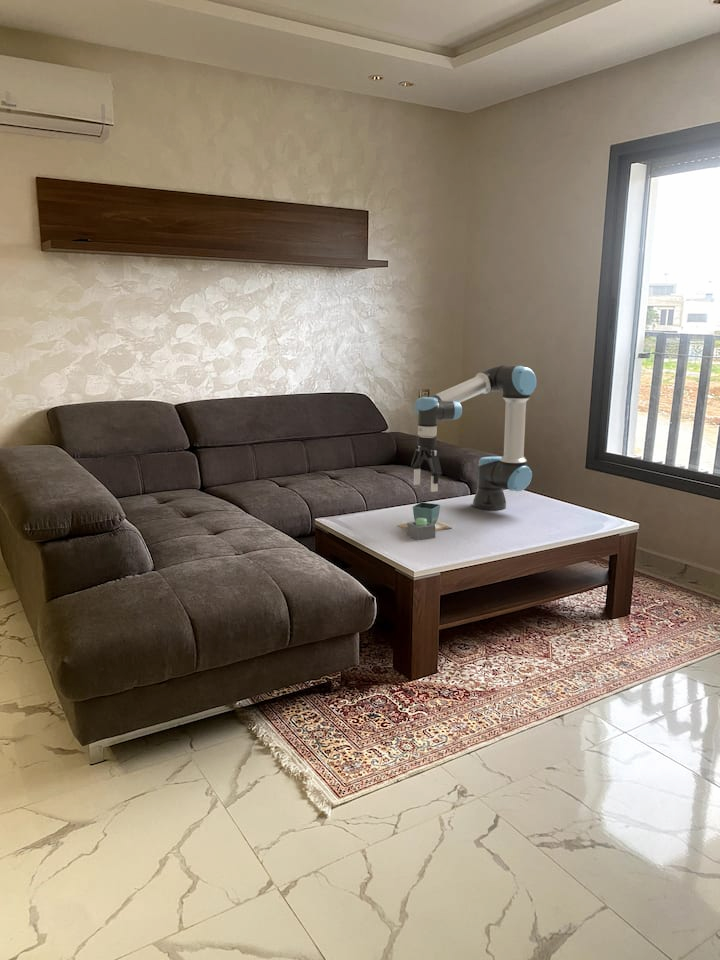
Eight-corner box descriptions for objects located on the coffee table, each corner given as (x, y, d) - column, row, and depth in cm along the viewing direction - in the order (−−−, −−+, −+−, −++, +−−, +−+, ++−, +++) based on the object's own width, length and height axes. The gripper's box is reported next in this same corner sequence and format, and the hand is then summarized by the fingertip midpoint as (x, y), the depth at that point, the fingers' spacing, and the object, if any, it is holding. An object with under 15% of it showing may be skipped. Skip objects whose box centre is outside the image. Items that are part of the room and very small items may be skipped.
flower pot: (411, 527, 306) (412, 506, 304) (420, 522, 314) (421, 501, 312) (431, 530, 302) (432, 509, 300) (439, 525, 310) (440, 504, 308)
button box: (424, 532, 302) (424, 520, 301) (434, 537, 295) (435, 525, 294) (407, 534, 299) (407, 522, 298) (417, 540, 292) (417, 527, 291)
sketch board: (434, 521, 319) (434, 519, 319) (451, 528, 308) (451, 527, 308) (397, 525, 311) (397, 524, 311) (413, 533, 300) (413, 532, 300)
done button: (423, 528, 299) (423, 517, 298) (428, 531, 296) (429, 519, 295) (413, 530, 298) (413, 518, 297) (419, 532, 294) (419, 521, 293)
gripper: (403, 432, 310) (402, 482, 315) (435, 441, 288) (433, 495, 293) (419, 431, 314) (417, 481, 318) (451, 440, 292) (449, 493, 296)
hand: (425, 488), depth 306 cm, fingers open, 13 cm apart
